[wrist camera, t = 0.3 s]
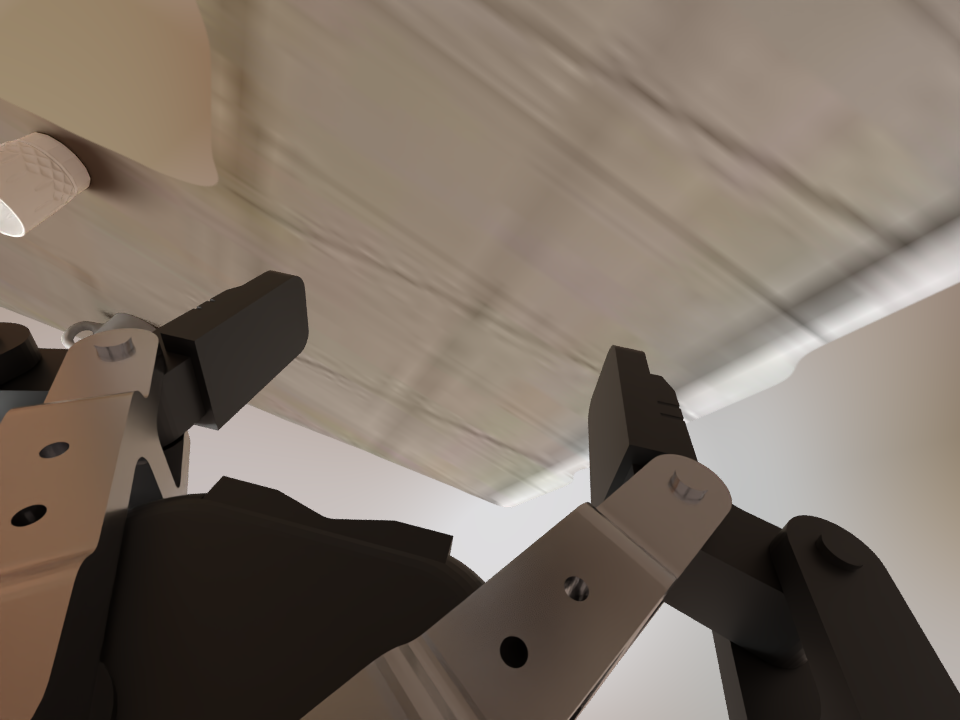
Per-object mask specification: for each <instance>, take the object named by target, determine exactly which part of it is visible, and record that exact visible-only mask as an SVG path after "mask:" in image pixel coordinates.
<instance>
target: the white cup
mask: <svg viewBox="0 0 960 720" xmlns="http://www.w3.org/2000/svg"><path fill="white" fill-rule="evenodd" d="M89 185H90V176H89V174H88V172H87V169H86V168H85V166H84V165H83V164H82V162H81V161H80V160H79V159H78V157H77V156H76V155H75V154H74V153H73V152H71V151H70V150H69V149H68V148H67V147H66V146H64V145H63V144H62V143H60V142H59V141H57V140H55V139H54V138H52V137H50V136H48V135H45V134H41V133H37V132H34V133H31V134H29V135H27V136H24V137H22V138H19V139H16V140H13V141H7V142H5V143H3V144H0V233H3V234H5V235H8V236H12V237H22V236H24V235H25V234H26V233H28V232H29V231H30V230H32V229H33V228H35V227H36V226H37V225H39V224H40V223H42V222H43V221H44V220H46V219H47V218H49V217H50V216H52V215H53V214H54V213H56V212H57V211H58V210H59V209H61V208H62V207H63V206H65V205H66V204H67V203H69V202H70V201H71V200H72V198H73V197H75V196H76V195H78V194H79V193H81V192H82V191H83V190H85V189H86V188H88V187H89Z"/></svg>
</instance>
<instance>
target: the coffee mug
mask: <svg viewBox="0 0 960 720" xmlns="http://www.w3.org/2000/svg"><path fill="white" fill-rule="evenodd" d="M122 328H136V329H143V330H147V331H150V332H153V331H154V330H156V328H155V327H153V326H152V325H150V324H149V323H147V322H145V321H143V320H141V319H139V318H137V317H135V316H132V315H129V314H125V313H117V314H115V315H114V316H113V317H112V318H111V319H110V320H109V321H108V322H106V323H105V324H100V323H95V322H88V321H85V322H78V323H76V324H74V325H72V326H70V327H69V328H68V329H67V330H66V331H65V332H64V333H63V335H62V338H61V339H62V343H63V345H64V346H65V347H66V348H67V349H69V348H70V347H71V346H72V345H73V344H75V343H74V342H73V339H74V337H75V336H76V335H77V334H78V333H79V332H81V331H84V330H90V331H92V332H93V334H96V333H99V332H103V331H107V330H113V329H122Z"/></svg>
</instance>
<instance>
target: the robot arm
mask: <svg viewBox="0 0 960 720" xmlns="http://www.w3.org/2000/svg"><path fill="white" fill-rule="evenodd" d="M308 332H309V330H308V318H307V307H306V296H305V286H304V282H303V280H302V279H301V278H300V277H298V276H294V275H290V274H285V273H281V272H276V271H271V270H270V271H267V272H265V273H263V274H261V275H260V276H258V277H256V278H254V279H253V280H251V281H249V282H247V283H246V284H244V285H242V286H239V287H236V288H232V289H229V290H226V291H224V292H222V293H220V294H218V295H217V296H215V297H213V298H211V299H210V302H209V301H206V302H204V303H202V304H201V305H199V306H197V309H192V310H190V311H188V312H186V313H185V314H183V315H181V316H179V317H178V318H176V319H174V320H172V321H170V322H169V323H167V324H165V325H163V326H162V327H160V328H158V329H156V330H154V331H153V332H150V331H147V330H143V329H136V328H122V329H113V330H107V331H103V332H99V333H96V334H93V335H90V336H87V337H85V338H83V339H81V340H79V341H78V342H76V343H75V344H73V345H72V346H71V347H70V348H69V349H45V348H44V349H43V348H38V347H37V345H36V343H35V341H34V339H33V337H32V335H31V333H30V331H29V329H28V328H27V327H25V326H23V325H20V324H16V323H5V322H0V720H576V719H577V717H578V716H579V715H580V713H581V712H582V711H583V709H584V708H585V707H586V705H587V704H588V702H589V701H590V700H591V698H592V697H593V696H594V695H595V693H596V692H597V690H598V689H599V688H600V686H601V685H602V684H603V682H604V681H605V679H606V678H607V677H608V676H609V674H610V673H611V672H612V670H613V669H614V668H615V666H616V665H617V664H618V662H619V661H620V660H621V658H622V657H623V656H624V654H625V653H626V652H627V650H628V649H629V648H630V646H631V645H632V644H633V642H634V641H635V640H636V638H637V637H638V636H639V634H640V633H641V632H642V631H643V629H644V628H645V627H646V625H647V624H648V622H649V621H650V620H651V618H652V617H653V616H654V615H655V613H656V612H657V611H658V609H659V608H660V607H661V605H662V604H663V603H664V602H665V603H667V604H669V605H670V606H672V607H674V608H675V609H677V610H679V611H680V612H682V613H684V614H686V615H687V616H689V617H691V618H693V619H694V620H696V621H698V622H699V623H701V624H703V625H704V626H706V627H708V628H710V629H711V630H712V633H713V638H714V643H715V648H716V653H717V658H718V664H719V669H720V673H721V679H722V684H723V689H724V694H725V700H726V704H727V710H728V715H729V720H960V693H959V692H958V690H957V688H956V686H955V685H954V683H953V681H952V680H951V678H950V676H949V675H948V673H947V671H946V670H945V668H944V666H943V665H942V663H941V661H940V660H939V658H938V656H937V654H936V653H935V651H934V649H933V648H932V646H931V644H930V642H929V641H928V639H927V637H926V636H925V634H924V632H923V630H922V629H921V628H920V625H919V624H918V622H917V620H916V619H915V617H914V615H913V614H912V612H911V610H910V609H909V607H908V605H907V604H906V602H905V600H904V598H903V597H902V595H901V594H900V591H899V590H898V588H897V587H896V585H895V583H894V581H893V580H892V578H891V576H890V575H889V573H888V571H887V569H886V568H885V566H884V565H883V563H882V562H881V561H880V559H879V558H878V557H877V556H876V555H875V553H873V551H871V549H869V547H868V546H866V545H865V544H864V543H863V542H862V541H861V540H859V539H858V538H856V537H855V536H854V535H853V534H851V533H850V532H848V531H846V530H845V529H843V528H841V527H840V526H838V525H836V524H834V523H832V522H829V521H827V520H824V519H821V518H818V517H814V516H807V515H802V516H796V517H793V518H792V519H791V520H789V522H788V523H787V524H786V525H785V526H784V527H783V529H781V528H779V527H777V526H775V525H773V524H771V523H768V522H766V521H764V520H762V519H760V518H758V517H756V516H754V515H752V514H749V513H748V512H745V511H744V510H742V509H740V508H738V507H736V506H734V505H733V504H732V498H731V495H730V492H729V490H728V488H727V487H726V485H725V484H724V482H723V481H722V480H721V479H720V478H719V477H718V476H717V475H716V474H715V473H714V472H713V471H711V470H710V469H709V468H707V467H706V466H704V465H702V464H701V463H699V462H698V461H697V458H696V455H695V451H694V448H693V445H692V443H691V439H690V436H689V433H688V430H687V427H686V424H685V421H683V415H682V412H681V409H680V408H679V403H678V400H677V397H676V393H675V391H674V390H673V388H672V387H671V386H670V385H669V384H668V383H667V382H666V381H665V379H664V378H663V377H662V376H658V375H654V374H650V371H649V368H648V364H647V360H646V356H645V353H644V352H643V351H638V350H634V349H629V348H624V347H620V346H615V345H612V346H611V348H610V350H609V352H608V354H607V357H606V360H605V362H604V365H603V368H602V371H601V373H600V376H599V379H598V382H597V385H596V387H595V390H594V393H593V396H592V399H591V403H590V408H589V415H588V429H589V458H590V487H591V503H589V502H586V503H584V504H582V505H580V506H579V507H577V508H576V509H575V510H574V511H573V512H571V513H570V514H569V515H568V516H566V517H565V518H564V519H563V520H561V521H560V522H559V523H558V524H557V525H555V526H554V527H553V528H552V529H550V530H549V531H548V532H547V533H546V534H544V535H543V536H542V537H541V538H539V539H538V540H537V541H536V542H535V543H533V544H532V545H531V546H530V547H528V548H527V549H526V550H525V551H524V552H522V553H521V554H520V555H519V556H517V557H516V558H515V559H514V560H513V561H511V562H510V563H509V564H508V565H507V566H505V567H504V568H503V569H502V570H500V571H499V572H498V573H497V574H496V575H494V576H493V577H492V578H491V579H489V580H488V581H487V582H486V583H485V582H484V581H483V580H482V579H481V578H480V577H479V576H478V575H477V574H476V573H475V572H474V571H472V570H471V569H469V568H468V567H467V566H466V565H464V564H463V563H462V562H460V561H459V560H457V559H455V558H453V557H452V556H450V552H451V546H452V540H453V536H451V535H447V534H444V533H440V532H436V531H432V530H429V529H425V528H421V527H417V526H413V525H409V524H406V523H401V522H398V521H388V520H349V519H330V518H326V517H323V516H321V515H320V514H318V513H316V512H314V511H313V510H311V509H309V508H308V507H306V506H304V505H302V504H301V503H299V502H297V501H296V500H294V499H292V498H291V497H289V496H287V495H285V494H284V493H282V492H280V491H278V490H275V489H271V488H268V487H263V486H260V485H256V484H252V483H249V482H245V481H240V480H237V479H233V478H229V477H226V476H223V477H222V478H221V479H220V480H219V481H218V482H217V483H216V484H215V485H214V486H213V487H212V489H211V490H210V491H209V492H208V493H202V494H188V495H187V486H188V469H189V454H190V438H189V434H188V431H187V430H188V429H189V428H190V427H192V426H193V425H198V426H202V427H206V428H210V429H214V430H219V429H220V428H221V427H222V426H223V425H224V424H225V423H226V422H228V421H229V420H230V419H231V418H232V417H233V416H234V415H235V414H236V413H237V412H238V411H239V410H240V409H241V408H242V407H243V406H245V405H246V404H247V403H248V402H249V401H250V400H251V399H252V398H253V397H254V396H255V395H256V394H257V393H258V392H259V391H260V390H262V389H263V388H264V387H265V386H266V385H267V384H268V383H269V382H270V381H271V380H272V379H273V378H274V377H275V376H276V375H277V374H279V373H280V372H281V371H282V370H283V369H284V368H285V367H286V366H287V365H288V364H289V363H290V362H291V361H292V360H293V359H294V358H296V357H297V356H298V355H299V354H300V353H301V352H302V350H303V349H304V347H305V345H306V343H307V339H308Z"/></svg>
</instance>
